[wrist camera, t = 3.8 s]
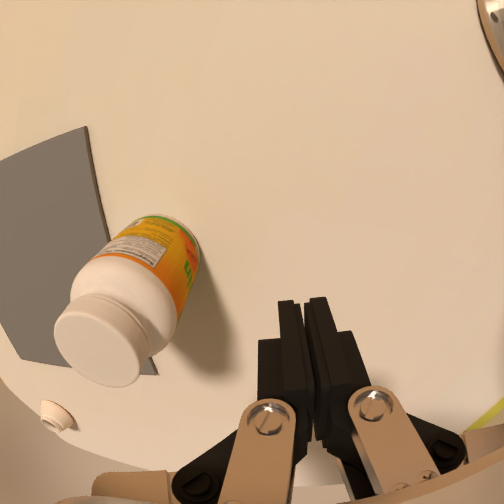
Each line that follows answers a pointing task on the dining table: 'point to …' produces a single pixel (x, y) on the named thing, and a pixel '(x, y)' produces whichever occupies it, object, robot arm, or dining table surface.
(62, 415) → the lidless jar
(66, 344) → the supplement bottle
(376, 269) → the dining table surface
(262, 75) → the dining table surface
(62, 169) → the felt mat
